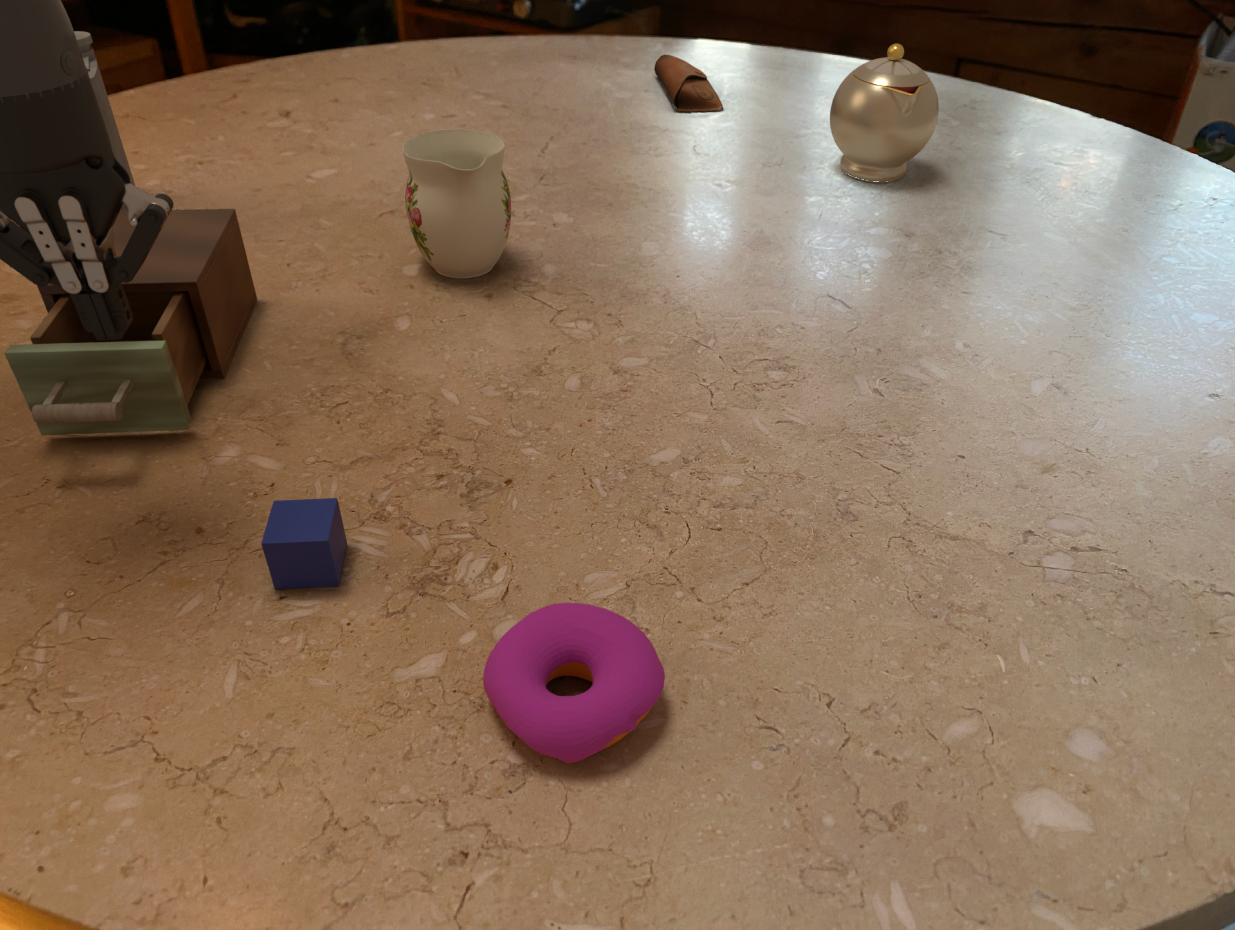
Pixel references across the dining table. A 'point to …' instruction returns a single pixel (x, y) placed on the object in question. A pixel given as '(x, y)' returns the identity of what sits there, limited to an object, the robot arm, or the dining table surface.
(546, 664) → the donut
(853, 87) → the teapot
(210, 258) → the cabinet
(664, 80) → the sunglasses case
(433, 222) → the pitcher
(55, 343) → the compartment
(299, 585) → the navy blue cube
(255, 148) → the dining table surface
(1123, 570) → the dining table surface
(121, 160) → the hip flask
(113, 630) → the dining table surface
